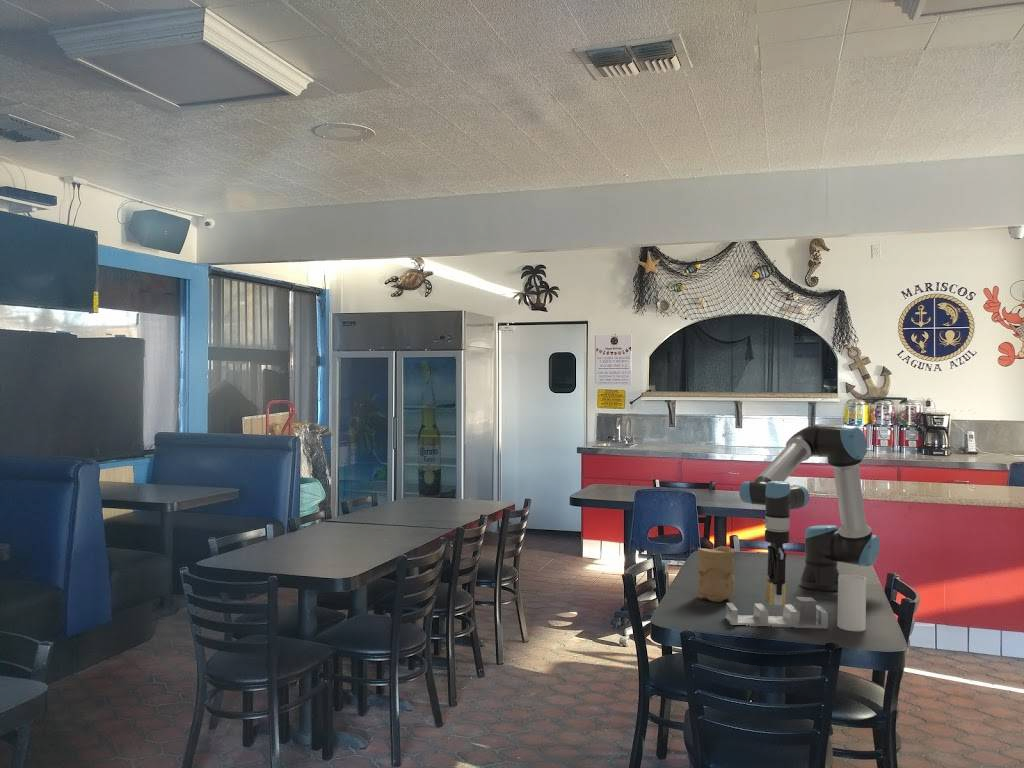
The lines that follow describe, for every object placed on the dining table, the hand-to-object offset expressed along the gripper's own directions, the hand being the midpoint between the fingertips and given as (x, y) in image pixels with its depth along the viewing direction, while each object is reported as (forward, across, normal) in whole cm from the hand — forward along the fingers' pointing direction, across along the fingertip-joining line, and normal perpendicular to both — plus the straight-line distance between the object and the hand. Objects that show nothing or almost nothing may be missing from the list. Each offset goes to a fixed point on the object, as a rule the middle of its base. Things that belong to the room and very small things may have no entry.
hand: (775, 602), depth 272 cm
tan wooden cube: (0, 0, 0) cm, 0 cm away
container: (+7, -29, -14) cm, 33 cm away
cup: (+7, +2, +23) cm, 24 cm away
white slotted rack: (+7, 0, 0) cm, 7 cm away
